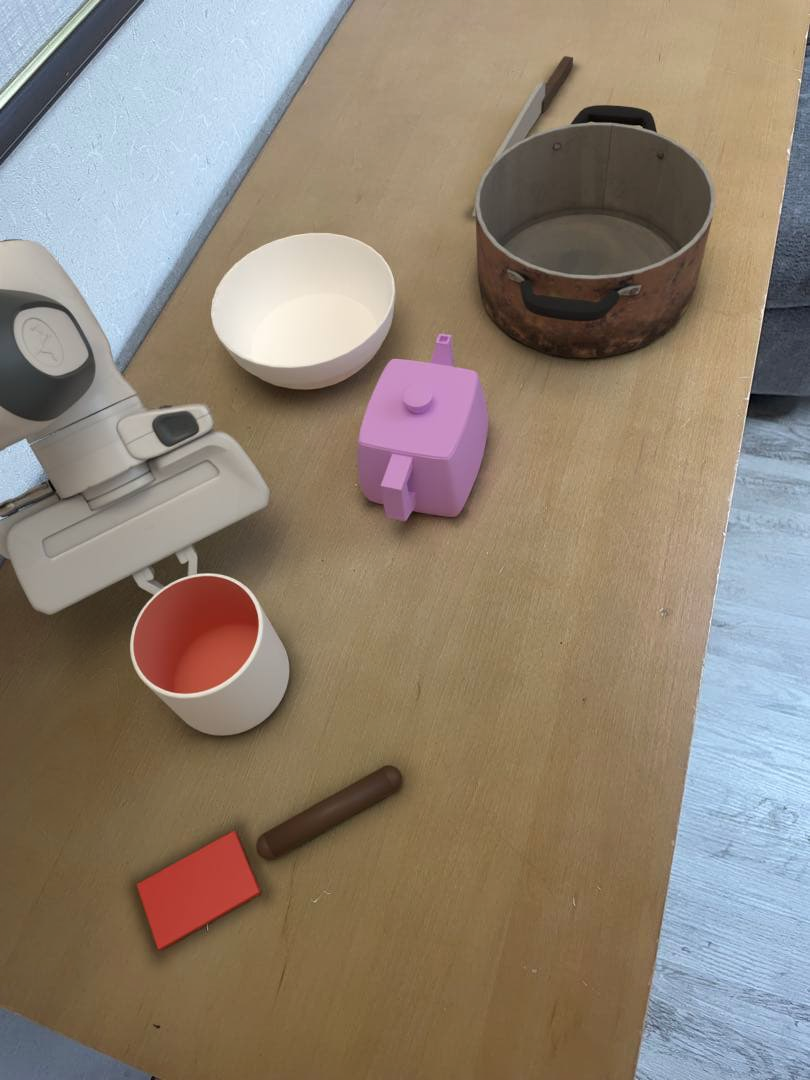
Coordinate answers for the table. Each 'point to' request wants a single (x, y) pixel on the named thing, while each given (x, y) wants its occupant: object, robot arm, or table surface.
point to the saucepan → (592, 234)
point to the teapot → (423, 436)
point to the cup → (210, 654)
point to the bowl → (305, 309)
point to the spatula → (244, 862)
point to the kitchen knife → (536, 106)
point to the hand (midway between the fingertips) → (189, 605)
